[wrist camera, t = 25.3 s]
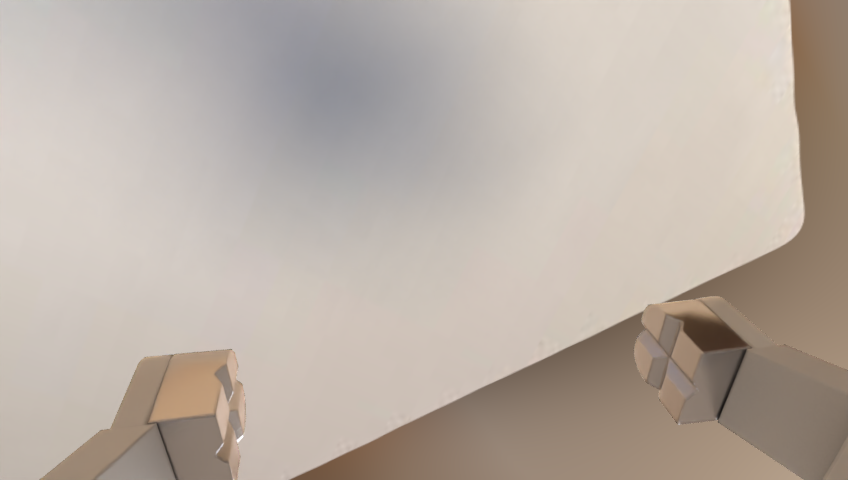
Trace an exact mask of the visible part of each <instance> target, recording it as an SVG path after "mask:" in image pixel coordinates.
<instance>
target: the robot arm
mask: <svg viewBox="0 0 848 480" xmlns="http://www.w3.org/2000/svg"><path fill="white" fill-rule="evenodd" d="M641 321H642V323H643V325H644V326H645V330H644V331H643V332H642V333H641V334H640V335H639V336H638V337H637V338H636V342H635V347H634V356H635V363H636V366H637V368H638V371H639V373H640V374H641V376H642V377H643V379H644V380H645V381H646V382H647V383H648V384H650V385H652V386H653V387H656V388H657V389H659V400H660V402H661V403H662V404H663V406H664V407H665V408H666V410H667V411H668V412H669V414H670V415H671V416H672V418H673V419H674V420H675V422H676V423H677V424H678V425H680V424H688V423H696V422H705V421H714V420H718V423H720V424H721V425H723V426H724V427H726V428H727V429H729V430H730V431H732V432H733V433H735V434H736V435H738V436H739V437H741V438H742V439H744V440H745V441H747V442H748V443H750V444H751V445H753V446H754V447H756V448H757V449H759V450H760V451H762V452H763V453H765V454H766V455H768V456H769V457H771V458H772V459H774V460H775V461H777V462H778V463H780V464H781V465H783V466H784V467H786V468H787V469H789V470H790V471H792V472H793V473H795V474H796V475H798V476H799V477H801V478H802V479H804V480H848V370H846V369H844V368H841V367H839V366H836V365H834V364H831V363H829V362H827V361H824V360H822V359H819V358H817V357H814V356H812V355H809V354H807V353H804V352H802V351H800V350H797V349H795V348H792V347H790V346H787V345H777V344H776V343H775V342H774V341H773V340H771V339H770V338H769V337H768V336H767V335H765V334H764V333H763V332H762V331H761V330H760V329H759V328H758V327H757V326H755V325H754V324H753V323H752V322H751V321H750V320H749V319H747V318H746V317H745V316H744V315H743V314H742V313H740V312H739V311H738V310H737V309H736V308H735V307H734V306H732V305H731V304H730V303H729V302H728V301H727V300H726V299H724V298H721V297H718V296H712V297H705V298H697V299H693V300H685V301H677V302H667V303H658V304H650V305H648V306H647V307H646V309H645V310H644V312H643V316H642V319H641ZM237 370H238V363H237V359H236V355H235V352H234V351H233V350H232V349H227V350H216V351H204V352H192V353H180V354H174V355H162V356H151V357H145V358H143V359H142V360H141V361H140V362H139V363H138V365H137V368H136V370H135V372H134V375H133V377H132V379H131V382H130V384H129V386H128V389H127V391H126V393H125V396H124V398H123V400H122V403H121V405H120V407H119V410H118V412H117V414H116V417H115V419H114V421H113V424H112V426H111V428H110V429H107V430H100V431H99V432H98V433H97V434H96V435H94V436H93V437H92V438H91V439H89V440H88V441H87V442H86V443H84V444H83V445H82V446H81V447H80V448H78V449H77V450H76V451H75V452H73V453H72V454H71V455H70V456H68V457H67V458H66V459H65V460H63V461H62V462H61V463H60V464H59V465H57V466H56V467H55V468H54V469H52V470H51V471H50V472H49V473H47V474H46V475H45V476H44V477H43V478H41V479H40V480H237V476H238V470H239V464H240V457H241V456H240V452H239V448H238V443H237V442H238V441H239V440H240V439H241V438H242V437H243V436H244V430H245V422H246V404H245V395H244V390H243V385H242V383H240V382H239V381H238V380H236V376H237Z"/></svg>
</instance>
